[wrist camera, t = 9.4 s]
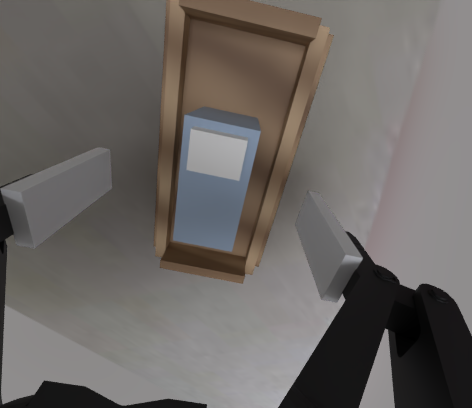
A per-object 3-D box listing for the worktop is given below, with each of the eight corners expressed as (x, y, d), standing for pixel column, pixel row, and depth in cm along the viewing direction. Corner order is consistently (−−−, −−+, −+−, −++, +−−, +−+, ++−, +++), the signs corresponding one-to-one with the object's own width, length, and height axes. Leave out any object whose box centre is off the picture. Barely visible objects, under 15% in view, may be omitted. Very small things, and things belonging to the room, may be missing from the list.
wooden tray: (258, 258, 28) (259, 286, 24) (158, 238, 27) (142, 264, 23) (327, 39, 18) (350, 25, 14) (173, 1, 17) (150, -25, 13)
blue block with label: (236, 210, 23) (230, 260, 17) (192, 201, 23) (168, 248, 17) (257, 118, 19) (261, 134, 13) (204, 106, 19) (179, 116, 12)
